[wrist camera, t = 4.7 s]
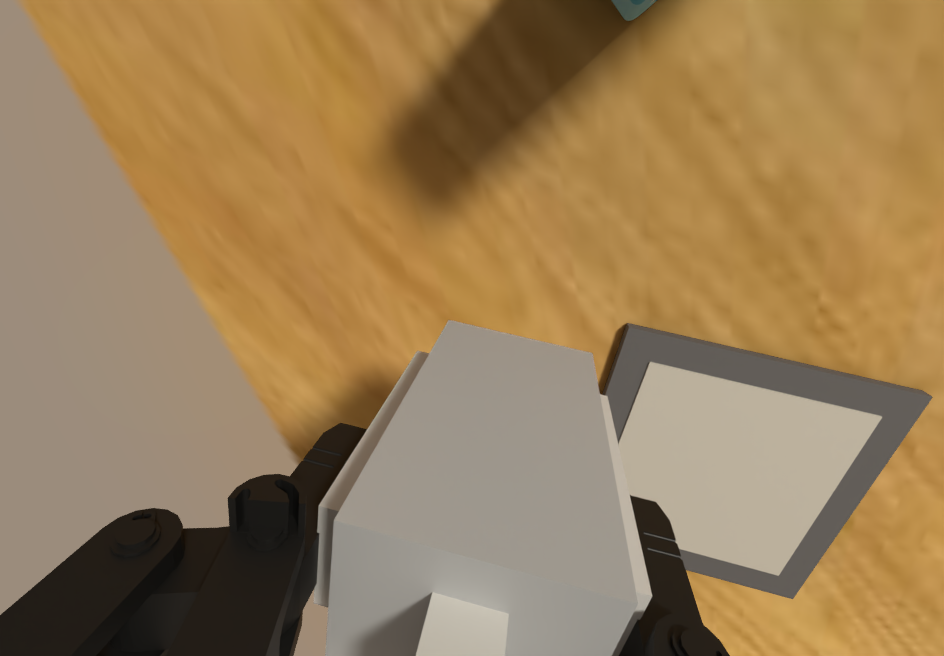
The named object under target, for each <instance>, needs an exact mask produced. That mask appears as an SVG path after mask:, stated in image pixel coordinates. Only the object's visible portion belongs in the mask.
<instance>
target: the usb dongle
mask: <svg viewBox="0 0 944 656" xmlns="http://www.w3.org/2000/svg"><path fill="white" fill-rule="evenodd" d="M637 605H638V600H637V595H636V589H635V584H634V578H633V573H632V567H631V562H630V556H629V551H628V545H627V540H626V535H625V529H624V524H623V518H622V513H621V507H620V502H619V496H618V491H617V485H616V480H615V474H614V469H613V463H612V458H611V452H610V447H609V441H608V436H607V430H606V425H605V419H604V414H603V409H602V403H601V398H600V392H599V387H598V381H597V376H596V370H595V365H594V359H593V354H592V353H590V352H585V351H581V350H577V349H572V348H568V347H564V346H559V345H555V344H551V343H546V342H542V341H538V340H534V339H529V338H525V337H521V336H516V335H512V334H508V333H503V332H499V331H495V330H490V329H486V328H482V327H477V326H473V325H469V324H464V323H460V322H456V321H451V320H448V322H447V324H446V326H445V327H444V329H443V331H442V333H441V334H440V336H439V338H438V340H437V341H436V343H435V345H434V347H433V348H432V350H431V352H430V354H429V355H428V357H427V359H426V361H425V362H424V364H423V366H422V367H421V369H420V371H419V373H418V374H417V376H416V378H415V380H414V381H413V383H412V385H411V387H410V388H409V390H408V392H407V394H406V395H405V397H404V399H403V401H402V402H401V404H400V406H399V408H398V409H397V411H396V413H395V415H394V416H393V418H392V420H391V421H390V423H389V425H388V427H387V428H386V430H385V432H384V434H383V435H382V437H381V439H380V441H379V442H378V444H377V446H376V448H375V449H374V451H373V453H372V455H371V456H370V458H369V460H368V462H367V463H366V465H365V467H364V469H363V470H362V472H361V474H360V475H359V477H358V479H357V481H356V482H355V484H354V486H353V488H352V489H351V491H350V493H349V495H348V496H347V498H346V500H345V502H344V503H343V505H342V507H341V509H340V510H339V512H338V514H337V516H336V517H335V519H334V526H333V542H332V558H331V574H330V590H329V606H328V623H327V639H326V654H325V656H612V654H613V652H614V650H615V648H616V646H617V644H618V642H619V640H620V638H621V636H622V634H623V632H624V630H625V629H626V627H627V625H628V623H629V621H630V619H631V617H632V615H633V613H634V611H635V609H636V607H637Z"/></svg>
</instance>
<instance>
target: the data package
mask: <svg viewBox="0 0 944 656" xmlns="http://www.w3.org/2000/svg"><path fill="white" fill-rule="evenodd" d="M611 1H612V2H613V4H614V5H615V7H616V8H617V10H618V11H619V12H620V14H621V15H622V17H623V18H624V19H625V20H627V21H631V20H633V19H635V18H637V17H638V16H639V15H641V14H642V13H643V12H644V11H646V10H647V9H648V8H649V7H650V6H651V5H652V4H654V3H655V2H656V1H657V0H611Z"/></svg>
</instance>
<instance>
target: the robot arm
mask: <svg viewBox="0 0 944 656" xmlns="http://www.w3.org/2000/svg"><path fill="white" fill-rule="evenodd" d="M428 355H429V353H425V352H421V351H417V352H416V354H415V355H414V357H413V358H412V360H411V361H410V363H409V365H408V366H407V368H406V369H405V371H404V372H403V374H402V376H401V377H400V379H399V380H398V382H397V383H396V385H395V387H394V388H393V390H392V391H391V393H390V394H389V396H388V398H387V399H386V401H385V402H384V404H383V405H382V407H381V409H380V410H379V412H378V413H377V415H376V416H375V418H374V420H373V421H372V423H371V424H370V426H369V427H368V429H363V428H359V427H355V426H351V425H347V424H343V423H340V424H338V425H336V426H334V427H333V428H331V429H329V430H328V431H326V432H324V433H323V435H322V436H321V437H320V438H319V440H318V441H317V442H316V443H315V445H314V446H313V449H311V450H310V451H309V452H308V454H307V455H306V456H305V458H304V460H303V461H301V463H300V464H299V465H298V467H297V468H296V469H295V471H294V472H293V473H292V474H291V476H290V477H289V476H285V475H281V474H274V475H263V476H259V477H256V478H253V479H250V480H248V481H246V482H245V483H243V484H242V485H240V486H238V487H237V488H236V489H235V490H234V491H233V492H232V494H231V495H230V496H229V497H228V508H229V525H230V526H229V527H219V528H189V529H183V526H182V523H181V521H180V519H179V517H178V515H176V514H174V513H172V512H170V511H169V510H165V509H156V508H151V509H145V510H138V511H134V512H132V513H129V514H127V515H124V516H122V517H119V518H117V519H116V520H114V521H113V522H111V523H110V524H108V525H107V526H105V527H104V528H102V529H101V530H100V531H99V532H98V533H97V534H95V535H94V536H93V537H92V538H91V539H90V540H88V541H87V542H86V543H85V544H84V545H83V546H81V547H80V548H79V549H78V550H76V551H75V552H74V553H73V554H72V555H71V556H69V557H68V558H67V559H66V560H65V561H64V562H62V563H61V564H60V565H59V566H58V567H56V568H55V569H54V570H53V571H52V572H51V573H50V574H48V575H47V576H46V577H45V578H44V579H42V580H41V581H40V582H39V583H38V584H36V585H35V586H34V587H33V588H32V589H31V590H30V591H28V592H27V593H26V594H25V595H23V596H22V597H21V598H20V599H19V600H18V601H16V602H15V603H14V604H13V605H12V606H11V607H9V608H8V609H7V610H6V611H5V612H3V613H2V614H1V615H0V656H293V655H294V651H295V648H296V644H297V640H298V637H299V633H300V629H301V626H302V614H303V613H302V612H303V608H304V607H305V605H306V602H307V601H308V599H309V597H310V595H311V593H312V591H313V590H314V604H318V605H321V606H325V607H328V606H329V590H330V574H331V558H332V542H333V526H334V519H335V517H336V516H337V514H338V512H339V510H340V509H341V507H342V505H343V503H344V502H345V500H346V498H347V496H348V495H349V493H350V491H351V489H352V488H353V486H354V484H355V482H356V481H357V479H358V477H359V475H360V474H361V472H362V470H363V469H364V467H365V465H366V463H367V462H368V460H369V458H370V456H371V455H372V453H373V451H374V449H375V448H376V446H377V444H378V442H379V441H380V439H381V437H382V435H383V434H384V432H385V430H386V428H387V427H388V425H389V423H390V421H391V420H392V418H393V416H394V415H395V413H396V411H397V409H398V408H399V406H400V404H401V402H402V401H403V399H404V397H405V395H406V394H407V392H408V390H409V388H410V387H411V385H412V383H413V381H414V380H415V378H416V376H417V374H418V373H419V371H420V369H421V367H422V366H423V364H424V362H425V361H426V359H427V357H428ZM600 398H601V403H602V409H603V414H604V419H605V425H606V430H607V436H608V441H609V447H610V452H611V458H612V463H613V469H614V474H615V480H616V485H617V491H618V496H619V502H620V507H621V513H622V518H623V524H624V529H625V535H626V540H627V545H628V551H629V556H630V562H631V567H632V573H633V578H634V584H635V589H636V595H637V600H638V605H637V607H636V609H635V611H634V613H633V615H632V617H631V619H630V621H629V623H628V625H627V627H626V629H625V630H624V632H623V634H622V636H621V638H620V640H619V642H618V644H617V646H616V648H615V650H614V652H613V654H612V656H730V655H729V654H728V652H727V651H726V649H725V648H724V646H723V645H722V643H721V642H720V640H719V639H718V638H717V637H716V636H715V635H714V634H713V633H712V632H711V631H710V630H709V629H708V628H707V627H705V626H704V625H703V623H702V620H701V617H700V614H699V611H698V608H697V605H696V601H695V598H694V595H693V592H692V589H691V586H690V582H689V579H688V576H687V573H686V570H685V567H684V563H683V560H682V559H681V554H680V551H679V548H678V544H677V543H676V538H675V535H674V532H673V529H672V525H671V522H670V520H669V519H668V517H667V516H666V514H665V513H664V512H663V510H662V509H661V508H660V506H659V505H658V504H657V502H655V501H651V500H647V499H643V498H639V497H635V496H631V495H630V494H629V490H628V485H627V481H626V477H625V472H624V468H623V463H622V459H621V454H620V450H619V445H618V441H617V436H616V432H615V428H614V423H613V419H612V414H611V410H610V405H609V401H608V396H605V395H601V394H600Z"/></svg>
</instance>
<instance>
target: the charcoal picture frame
mask: <svg viewBox="0 0 944 656" xmlns="http://www.w3.org/2000/svg"><path fill="white" fill-rule="evenodd" d="M602 395H605V396H608V401H609V405H610V410H611V414H612V419H613V423H614V428H615V432H616V436H617V441H618V445H619V450H620V454H621V459H622V463H623V468H624V472H625V477H626V481H627V485H628V490H629V494H630V495H631V496H635V497H639V498H643V499H647V500H651V501H655V502H657V504H658V505H659V506H660V508H661V509H662V510H663V512H664V513H665V514H666V516H667V517H668V519H669V520H670V522H671V525H672V529H673V532H674V535H675V538H676V543H677V544H678V548H679V551H680V554H681V559H682V560H683V563H684V567H685V570H689V571H692V572H696V573H700V574H703V575H707V576H711V577H714V578H718V579H721V580H725V581H729V582H732V583H736V584H740V585H743V586H747V587H751V588H754V589H758V590H762V591H765V592H769V593H772V594H776V595H780V596H783V597H787V598H791V599H793V598H794V597H795V595H796V594H797V592H798V591H799V589H800V588H801V587H802V585H803V584H804V582H805V581H806V579H807V578H808V576H809V575H810V574H811V572H812V571H813V569H814V568H815V566H816V565H817V563H818V562H819V561H820V559H821V558H822V556H823V555H824V553H825V552H826V550H827V549H828V548H829V546H830V545H831V543H832V542H833V540H834V539H835V537H836V536H837V535H838V533H839V532H840V530H841V529H842V527H843V526H844V524H845V523H846V522H847V520H848V519H849V517H850V516H851V514H852V513H853V511H854V510H855V509H856V507H857V506H858V504H859V503H860V501H861V500H862V498H863V497H864V496H865V494H866V493H867V491H868V490H869V488H870V487H871V485H872V484H873V483H874V481H875V480H876V478H877V477H878V475H879V474H880V472H881V471H882V470H883V468H884V467H885V465H886V464H887V462H888V461H889V459H890V458H891V457H892V455H893V454H894V452H895V451H896V449H897V448H898V446H899V445H900V444H901V442H902V441H903V439H904V438H905V436H906V435H907V433H908V432H909V431H910V429H911V428H912V426H913V425H914V423H915V422H916V420H917V419H918V418H919V416H920V415H921V413H922V412H923V410H924V409H925V407H926V406H927V405H928V403H929V402H930V400H931V399H932V396H930V395H929V394H927V393H926V392H924V391H922V390H918V389H913V388H909V387H904V386H900V385H896V384H891V383H887V382H883V381H878V380H874V379H869V378H865V377H861V376H856V375H852V374H848V373H843V372H839V371H835V370H830V369H826V368H821V367H817V366H813V365H808V364H804V363H800V362H795V361H791V360H787V359H782V358H778V357H773V356H769V355H765V354H760V353H756V352H752V351H747V350H743V349H739V348H734V347H730V346H725V345H721V344H717V343H712V342H708V341H704V340H699V339H695V338H691V337H686V336H682V335H677V334H673V333H669V332H664V331H660V330H656V329H651V328H647V327H643V326H638V325H634V324H629V323H627V325H626V328H625V331H624V334H623V337H622V339H621V342H620V345H619V348H618V351H617V354H616V357H615V360H614V362H613V365H612V368H611V371H610V374H609V377H608V380H607V383H606V385H605V388H604V391H603V394H602Z"/></svg>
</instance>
